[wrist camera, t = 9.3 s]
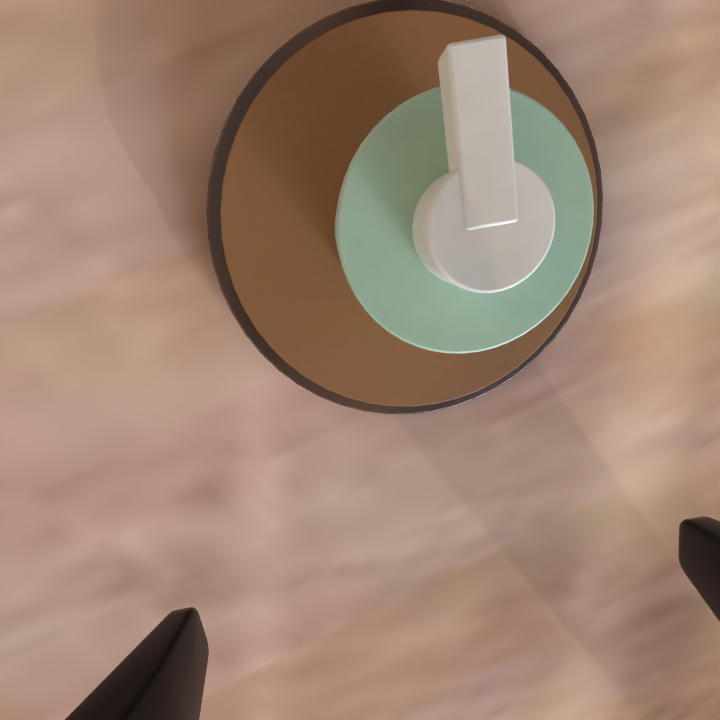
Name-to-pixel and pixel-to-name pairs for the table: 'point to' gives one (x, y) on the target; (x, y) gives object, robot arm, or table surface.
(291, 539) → the table surface
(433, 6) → the base
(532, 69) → the soap bottle
